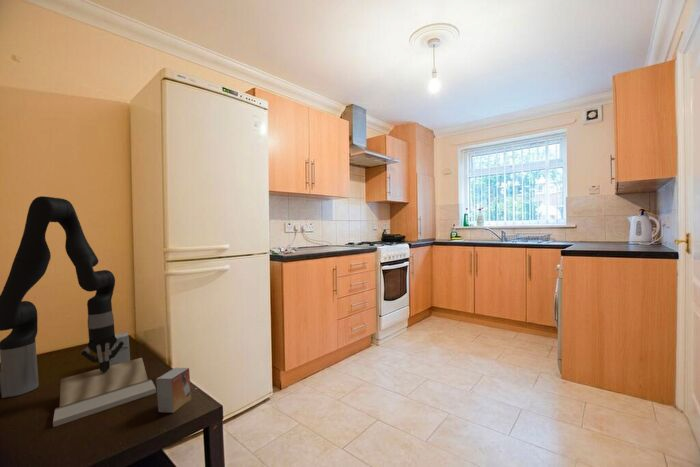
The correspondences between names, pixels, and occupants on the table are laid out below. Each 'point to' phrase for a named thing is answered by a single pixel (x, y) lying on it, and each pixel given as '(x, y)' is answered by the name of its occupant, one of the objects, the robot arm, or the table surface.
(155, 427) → the table surface
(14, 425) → the table surface
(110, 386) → the oak plank
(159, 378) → the small box
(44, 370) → the table surface
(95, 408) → the grey board
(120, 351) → the supplement box
